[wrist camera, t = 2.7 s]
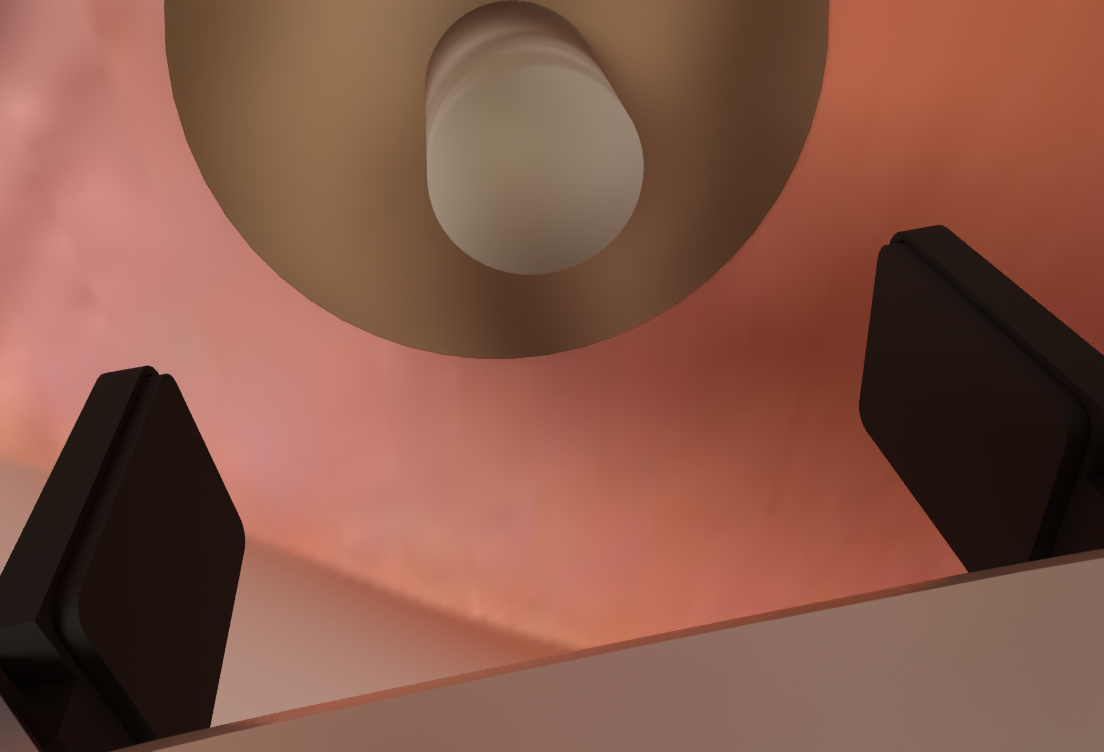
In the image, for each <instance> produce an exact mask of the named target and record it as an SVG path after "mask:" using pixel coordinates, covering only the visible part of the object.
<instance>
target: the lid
mask: <svg viewBox="0 0 1104 752" xmlns="http://www.w3.org/2000/svg"><path fill="white" fill-rule="evenodd" d="M828 8H829V1H828V0H165V1H164V14H165V43H166V56H167V62H168V68H169V74H170V80H171V86H172V92H173V98H174V101H175V104H176V108H177V111H178V114H179V117H180V121H181V124H182V127H183V130H184V134H185V137H186V140H187V143H188V145H189V147H190V149H191V152H192V154H193V156H194V158H195V160H196V163H197V165H198V167H199V169H200V172H201V174H202V176H203V178H204V180H205V182H206V184H207V185H208V187H209V189H210V190H211V192H212V194H213V195H214V197H215V199H216V200H217V202H218V203H219V205H220V207H221V208H222V210H223V212H224V213H225V215H226V217H227V218H228V219H229V220H230V222H231V223H232V224H233V225H234V227H235V228H236V229H237V231H238V232H239V233H240V234H241V236H242V237H243V238H244V239H245V241H246V242H247V243H248V244H249V246H250V247H251V248H252V249H253V250H254V251H255V252H256V253H257V254H258V255H259V256H260V257H261V258H262V259H263V260H264V261H265V262H266V263H267V264H268V265H269V266H270V267H271V268H272V269H273V270H274V271H275V272H276V273H277V274H278V275H279V276H280V277H281V278H282V279H284V280H285V281H286V282H287V283H289V284H290V285H291V286H292V287H294V288H295V289H296V290H297V291H299V292H300V293H301V294H303V295H304V296H305V297H306V298H308V299H309V300H310V301H312V302H313V303H315V304H317V305H318V306H320V307H322V308H323V309H325V310H326V311H328V312H330V313H331V314H333V315H335V316H336V317H338V318H339V319H341V320H343V321H345V322H347V323H349V324H351V325H354V326H356V327H358V328H360V329H362V330H364V331H366V332H368V333H370V334H373V335H375V336H378V337H381V338H383V339H386V340H389V341H392V342H395V343H398V344H401V345H404V346H407V347H410V348H415V349H419V350H424V351H428V352H433V353H438V354H442V355H450V356H459V357H468V358H477V359H514V358H523V357H533V356H542V355H549V354H554V353H558V352H563V351H568V350H572V349H577V348H581V347H584V346H587V345H590V344H593V343H596V342H599V341H602V340H605V339H608V338H611V337H614V336H616V335H619V334H621V333H623V332H625V331H627V330H630V329H632V328H634V327H636V326H638V325H641V324H643V323H645V322H647V321H648V320H650V319H652V318H654V317H655V316H657V315H659V314H660V313H662V312H664V311H665V310H667V309H669V308H670V307H672V306H674V305H676V304H677V303H678V302H680V301H681V300H682V299H684V298H685V297H686V296H688V295H689V294H690V293H692V292H693V291H694V290H696V289H697V288H698V287H700V286H701V285H702V284H704V283H705V282H706V281H707V280H708V279H709V278H710V277H711V276H713V275H714V274H715V273H716V272H717V271H718V270H719V269H720V268H721V267H722V266H723V265H724V264H725V263H727V262H728V261H729V260H730V259H731V258H732V257H733V255H734V254H735V253H736V252H737V251H738V250H739V249H740V247H741V246H742V245H743V244H744V243H745V242H746V241H747V239H748V238H749V237H750V236H751V235H752V234H753V232H754V231H755V230H756V229H757V227H758V226H759V224H760V223H761V221H762V220H763V219H764V217H765V216H766V214H767V213H768V211H769V210H770V208H771V207H772V206H773V204H774V203H775V201H776V200H777V198H778V196H779V194H780V193H781V191H782V189H783V187H784V185H785V183H786V181H787V180H788V178H789V176H790V174H791V172H792V170H793V168H794V167H795V165H796V162H797V160H798V157H799V155H800V152H801V150H802V147H803V145H804V142H805V140H806V137H807V135H808V132H809V130H810V127H811V123H812V120H813V116H814V113H815V109H816V105H817V102H818V98H819V94H820V91H821V86H822V79H823V73H824V66H825V59H826V52H827V45H828Z"/></svg>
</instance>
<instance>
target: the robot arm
mask: <svg viewBox="0 0 1104 752" xmlns="http://www.w3.org/2000/svg"><path fill="white" fill-rule="evenodd" d="M859 411H860V417H861V420H862V423H863V426H864V427H865V429H866V431H867V432H868V434H869V435H870V436H871V438H872V439H873V441H874V442H875V443H876V445H877V446H878V448H879V449H880V450H881V452H882V453H883V454H884V456H885V457H886V459H887V460H888V461H889V463H890V464H891V466H892V467H893V468H894V470H895V471H896V472H897V474H898V475H899V477H900V478H901V479H902V481H903V482H904V484H905V485H906V486H907V488H908V489H909V490H910V492H911V493H912V495H913V496H914V497H915V499H916V500H917V502H918V503H919V504H920V506H921V507H922V508H923V510H924V511H925V513H926V514H927V515H928V517H929V518H930V520H931V521H932V522H933V524H934V525H935V526H936V528H937V529H938V531H939V532H940V533H941V535H942V536H943V538H944V539H945V540H946V542H947V543H948V544H949V546H950V547H951V549H952V550H953V551H954V553H955V554H956V556H957V557H958V558H959V560H960V561H961V562H962V564H963V565H964V567H965V568H966V569H967V571H968V572H969V573H965V574H960V575H955V576H950V577H945V578H940V579H935V580H930V581H924V582H919V583H914V584H909V585H904V586H899V587H894V588H889V589H884V590H879V591H874V592H868V593H863V594H858V595H853V596H848V597H843V598H838V599H833V600H828V601H823V602H817V603H812V604H807V605H802V606H797V607H792V608H787V609H782V610H777V611H772V612H767V613H762V614H757V615H752V616H747V617H742V618H737V619H732V620H727V621H722V622H717V623H712V624H707V625H702V626H697V627H692V628H687V629H682V630H677V631H672V632H667V633H662V634H657V635H652V636H647V637H642V638H637V639H632V640H627V641H622V642H617V643H613V644H608V645H603V646H598V647H593V648H588V649H583V650H578V651H573V652H568V653H563V654H558V655H553V656H548V657H544V658H539V659H534V660H529V661H524V662H519V663H514V664H509V665H505V666H499V667H495V668H490V669H485V670H480V671H475V672H471V673H466V674H461V675H456V676H451V677H446V678H442V679H437V680H432V681H427V682H422V683H418V684H413V685H408V686H403V687H398V688H394V689H389V690H384V691H379V692H374V693H370V694H365V695H360V696H355V697H350V698H346V699H341V700H336V701H331V702H326V703H322V704H317V705H312V706H307V707H302V708H297V709H292V710H288V711H283V712H279V713H274V714H270V715H265V716H261V717H256V718H252V719H247V720H243V721H239V722H234V723H229V724H225V725H220V726H216V727H212V728H210V725H211V720H212V714H213V709H214V705H215V699H216V694H217V689H218V684H219V679H220V674H221V668H222V663H223V658H224V653H225V648H226V642H227V638H228V632H229V627H230V622H231V617H232V612H233V606H234V601H235V596H236V591H237V586H238V581H239V576H240V571H241V566H242V560H243V555H244V550H245V533H244V528H243V524H242V521H241V519H240V517H239V515H238V512H237V510H236V508H235V506H234V504H233V502H232V500H231V498H230V495H229V493H228V491H227V489H226V487H225V485H224V483H223V481H222V478H221V476H220V474H219V472H218V470H217V468H216V466H215V464H214V462H213V459H212V457H211V455H210V453H209V451H208V449H207V447H206V445H205V442H204V440H203V438H202V436H201V434H200V432H199V430H198V428H197V425H196V423H195V421H194V419H193V417H192V415H191V413H190V411H189V408H188V406H187V404H186V402H185V400H184V398H183V396H182V394H181V391H180V389H179V387H178V385H177V383H176V381H175V380H174V378H173V377H172V376H171V375H169V374H162V375H159V374H158V372H157V371H156V370H155V369H154V368H153V367H151V366H142V367H137V368H131V369H126V370H120V371H114V372H109V373H104V374H101V375H100V377H99V378H98V379H97V381H96V383H95V385H94V387H93V389H92V391H91V393H90V395H89V397H88V399H87V401H86V403H85V405H84V407H83V409H82V411H81V413H80V415H79V417H78V419H77V421H76V424H75V426H74V428H73V430H72V432H71V434H70V436H69V438H68V440H67V442H66V444H65V446H64V448H63V450H62V452H61V454H60V456H59V458H58V460H57V462H56V464H55V466H54V468H53V470H52V472H51V474H50V476H49V478H48V480H47V482H46V484H45V486H44V488H43V490H42V493H41V494H40V497H39V499H38V500H37V503H36V504H35V507H34V509H33V511H32V513H31V515H30V517H29V519H28V521H27V523H26V525H25V527H24V529H23V531H22V533H21V535H20V537H19V539H18V541H17V543H16V545H15V547H14V549H13V551H12V553H11V555H10V557H9V559H8V561H7V563H6V565H5V567H4V570H3V571H2V573H1V575H0V752H1104V356H1103V355H1102V354H1101V353H1100V352H1098V351H1097V350H1096V349H1095V348H1094V347H1092V346H1091V345H1090V344H1089V343H1087V342H1086V341H1085V340H1084V339H1083V338H1081V337H1080V336H1079V335H1078V334H1076V333H1075V332H1074V331H1073V330H1071V329H1070V328H1069V327H1068V326H1067V325H1065V324H1064V323H1063V322H1062V321H1060V320H1059V319H1058V318H1057V317H1056V316H1054V315H1053V314H1052V313H1051V312H1049V311H1048V310H1047V309H1046V308H1044V307H1043V306H1042V305H1041V304H1040V303H1038V302H1037V301H1036V300H1035V299H1033V298H1032V297H1031V296H1030V295H1029V294H1027V293H1026V292H1025V291H1024V290H1022V289H1021V288H1020V287H1019V286H1018V285H1016V284H1015V283H1014V282H1013V281H1011V280H1010V279H1009V278H1008V277H1006V276H1005V275H1004V274H1003V273H1002V272H1000V271H999V270H998V269H997V268H995V267H994V266H993V265H992V264H991V263H989V262H988V261H987V260H986V259H984V258H983V257H982V256H981V255H980V254H978V253H977V252H976V251H975V250H973V249H972V248H971V247H970V246H968V245H967V244H966V243H965V242H964V241H962V240H961V239H960V238H959V237H957V236H956V235H955V234H954V233H953V232H951V231H950V230H949V229H948V228H946V227H944V226H942V225H936V226H930V227H924V228H919V229H913V230H907V231H902V232H897V233H896V234H895V235H894V236H893V237H892V239H891V241H890V245H885V246H883V247H882V248H881V250H880V252H879V255H878V261H877V268H876V276H875V284H874V292H873V300H872V307H871V315H870V323H869V331H868V339H867V346H866V354H865V362H864V370H863V377H862V385H861V393H860V401H859Z"/></svg>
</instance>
